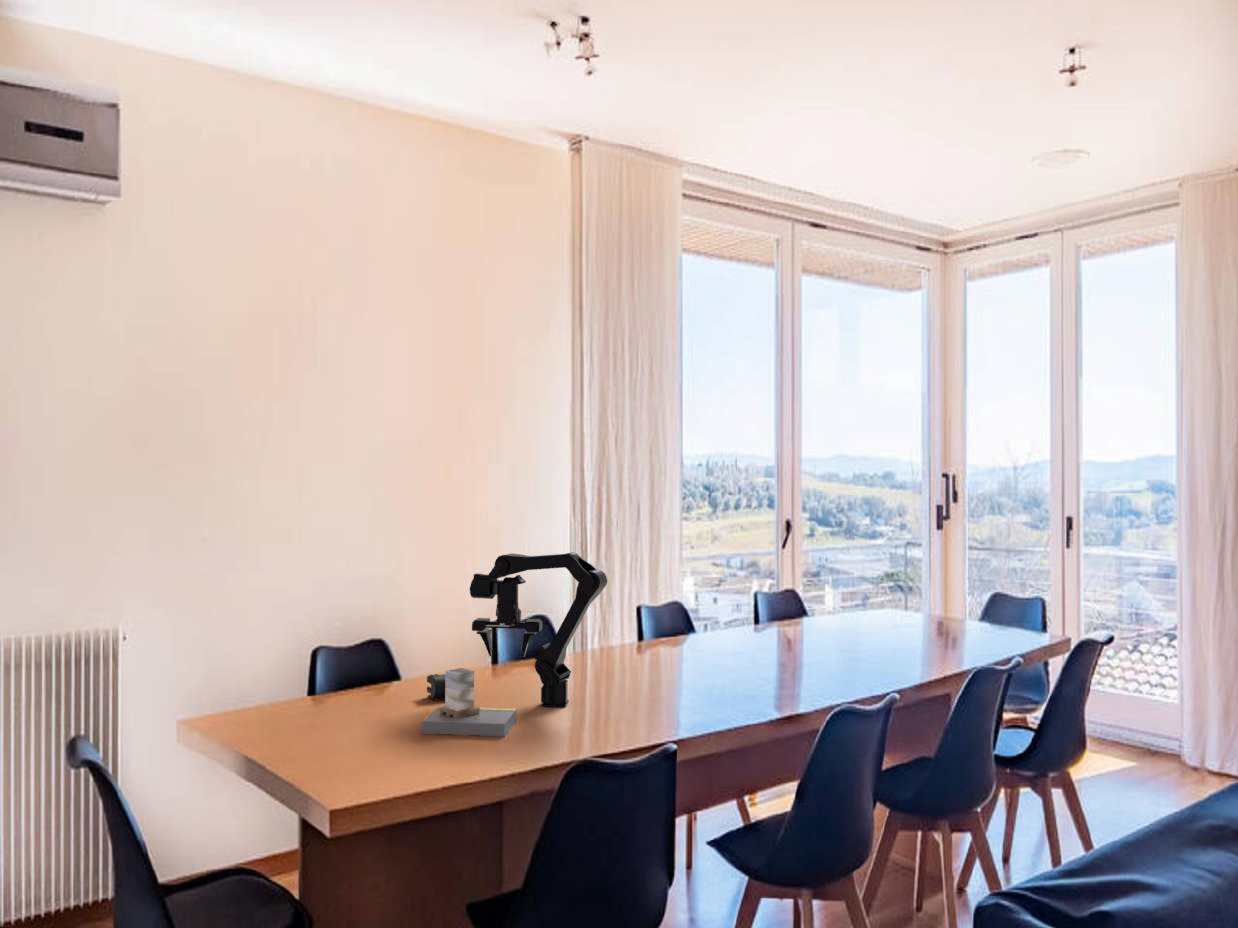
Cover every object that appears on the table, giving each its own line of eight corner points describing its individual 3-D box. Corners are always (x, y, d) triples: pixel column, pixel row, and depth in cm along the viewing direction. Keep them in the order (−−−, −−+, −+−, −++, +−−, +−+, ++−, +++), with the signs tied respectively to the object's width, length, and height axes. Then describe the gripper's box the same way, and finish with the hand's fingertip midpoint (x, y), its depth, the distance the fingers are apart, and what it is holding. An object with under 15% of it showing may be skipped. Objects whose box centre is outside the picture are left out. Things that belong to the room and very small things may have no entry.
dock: (516, 721, 234) (516, 708, 234) (504, 736, 220) (504, 723, 220) (438, 718, 236) (438, 706, 236) (422, 733, 222) (422, 720, 222)
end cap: (435, 702, 253) (435, 677, 253) (425, 697, 259) (425, 673, 259) (469, 698, 258) (469, 673, 258) (458, 693, 264) (458, 669, 264)
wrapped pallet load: (462, 708, 234) (462, 666, 234) (479, 713, 229) (479, 670, 229) (439, 713, 229) (439, 670, 229) (456, 718, 224) (456, 675, 224)
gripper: (545, 596, 264) (545, 651, 263) (481, 595, 265) (480, 650, 265) (539, 601, 253) (538, 659, 252) (471, 600, 254) (471, 657, 254)
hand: (507, 656), depth 256 cm, fingers open, 9 cm apart
